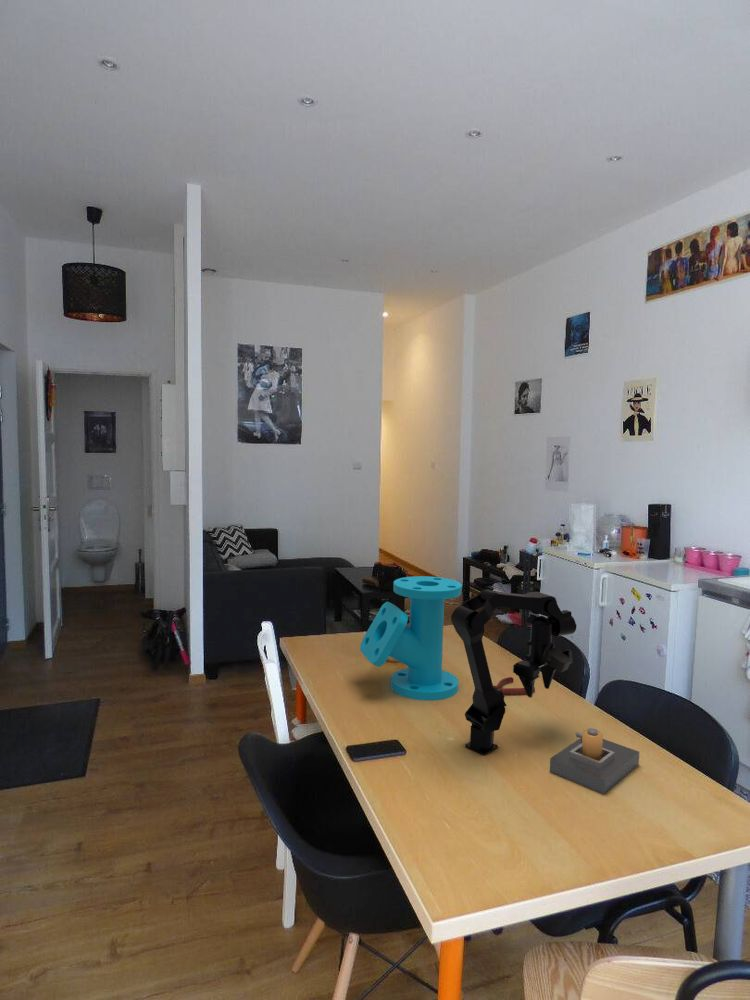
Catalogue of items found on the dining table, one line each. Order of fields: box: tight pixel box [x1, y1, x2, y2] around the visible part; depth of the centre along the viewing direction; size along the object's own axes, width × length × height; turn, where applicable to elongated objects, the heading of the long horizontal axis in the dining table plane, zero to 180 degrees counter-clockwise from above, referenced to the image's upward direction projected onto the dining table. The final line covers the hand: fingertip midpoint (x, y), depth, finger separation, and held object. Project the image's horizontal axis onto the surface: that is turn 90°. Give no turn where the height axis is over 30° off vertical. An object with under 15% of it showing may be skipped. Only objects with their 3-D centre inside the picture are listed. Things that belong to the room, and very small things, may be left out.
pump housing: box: [575, 727, 604, 761], centre depth 157 cm, size 5×7×7 cm
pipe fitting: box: [359, 575, 463, 701], centre depth 207 cm, size 22×32×35 cm
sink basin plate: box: [549, 738, 640, 795], centre depth 158 cm, size 20×14×5 cm
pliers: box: [493, 676, 536, 698], centre depth 206 cm, size 12×20×3 cm, turn 125°
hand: (538, 692), depth 176 cm, fingers open, 9 cm apart
